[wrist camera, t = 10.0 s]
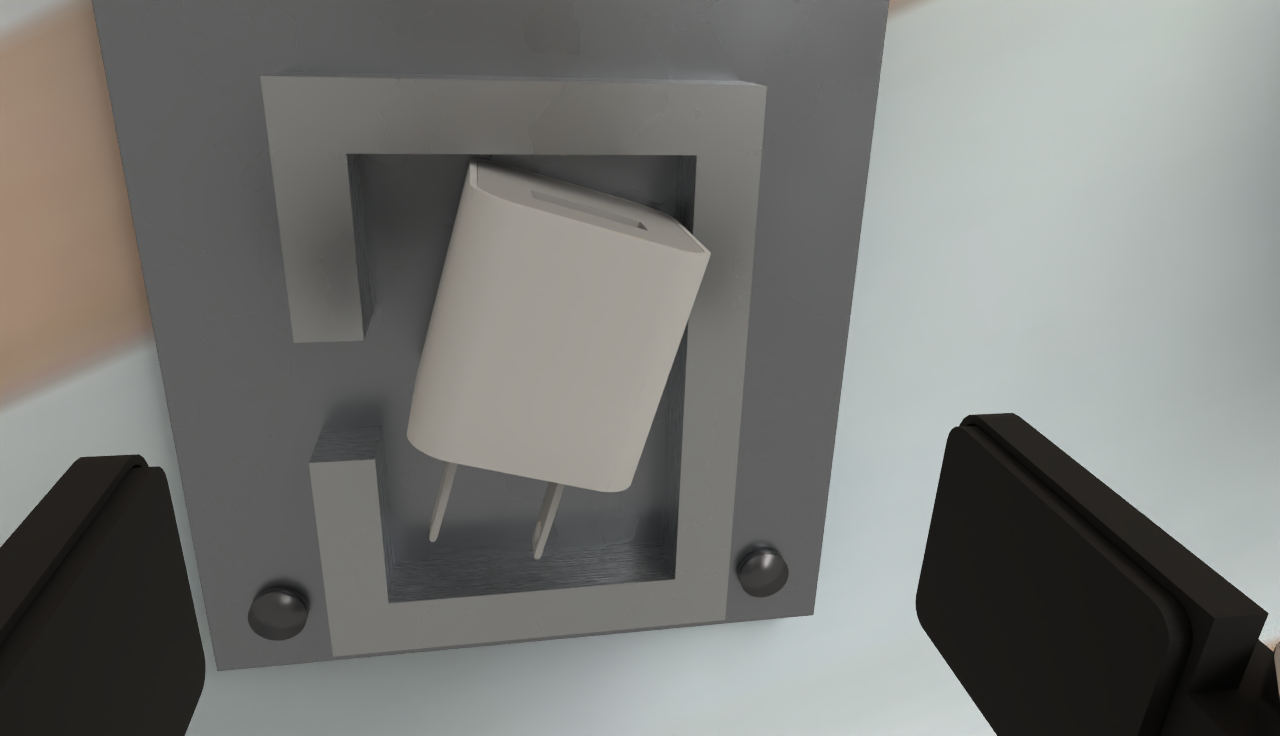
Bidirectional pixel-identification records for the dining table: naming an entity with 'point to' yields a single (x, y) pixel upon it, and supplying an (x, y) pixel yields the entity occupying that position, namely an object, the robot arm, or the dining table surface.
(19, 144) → the dining table surface
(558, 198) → the usb wall charger
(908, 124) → the dining table surface
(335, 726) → the dining table surface
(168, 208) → the plate
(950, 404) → the dining table surface
